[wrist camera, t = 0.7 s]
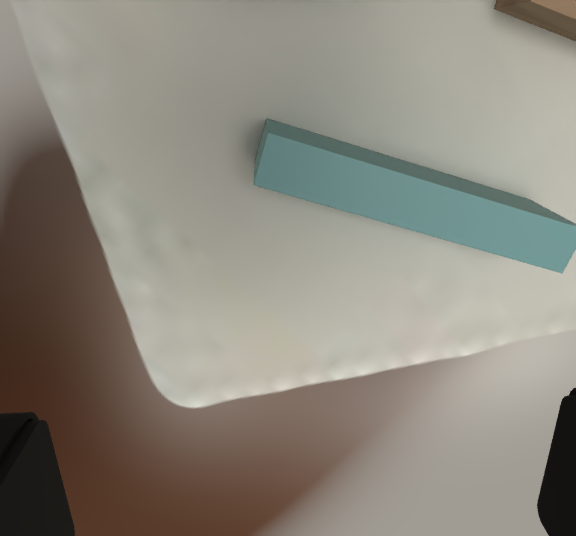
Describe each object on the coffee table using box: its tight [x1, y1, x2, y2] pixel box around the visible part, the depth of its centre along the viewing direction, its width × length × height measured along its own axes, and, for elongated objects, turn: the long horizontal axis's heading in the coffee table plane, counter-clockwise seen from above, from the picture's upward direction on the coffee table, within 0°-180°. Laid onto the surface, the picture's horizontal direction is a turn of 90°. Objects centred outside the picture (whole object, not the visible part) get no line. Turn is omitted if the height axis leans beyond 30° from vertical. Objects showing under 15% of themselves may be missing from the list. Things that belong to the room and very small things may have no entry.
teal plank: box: [254, 119, 576, 273], centre depth 33 cm, size 3×20×7 cm, turn 73°
